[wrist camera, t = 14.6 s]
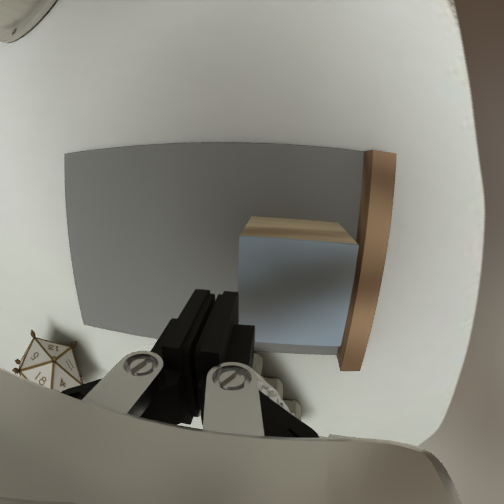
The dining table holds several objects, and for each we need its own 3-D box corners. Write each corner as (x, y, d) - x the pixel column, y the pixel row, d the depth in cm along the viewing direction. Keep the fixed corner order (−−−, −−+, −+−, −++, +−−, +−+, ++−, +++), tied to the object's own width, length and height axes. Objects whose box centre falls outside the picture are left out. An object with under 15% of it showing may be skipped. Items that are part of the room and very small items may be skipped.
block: (358, 245, 14) (338, 222, 20) (239, 236, 15) (251, 216, 20) (340, 346, 16) (327, 301, 22) (236, 339, 17) (248, 296, 22)
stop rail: (362, 151, 19) (372, 150, 16) (383, 154, 19) (396, 153, 16) (336, 352, 23) (340, 371, 21) (354, 353, 23) (359, 370, 21)
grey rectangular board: (66, 153, 21) (64, 154, 20) (362, 151, 19) (363, 151, 18) (85, 322, 25) (83, 324, 25) (336, 352, 23) (336, 354, 23)
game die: (96, 338, 30) (110, 401, 23) (65, 381, 30) (74, 443, 22) (33, 300, 25) (24, 362, 17) (6, 350, 24) (-1, 413, 16)
